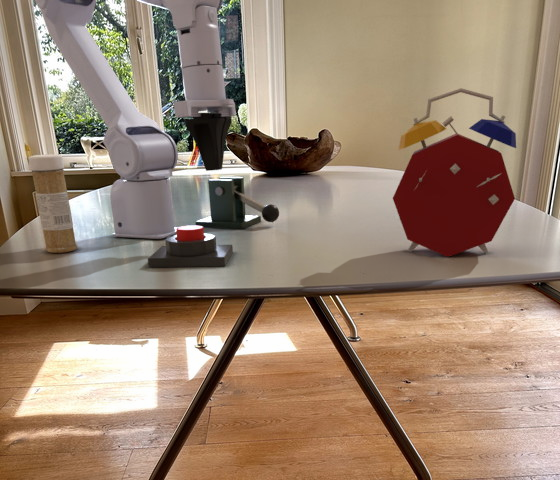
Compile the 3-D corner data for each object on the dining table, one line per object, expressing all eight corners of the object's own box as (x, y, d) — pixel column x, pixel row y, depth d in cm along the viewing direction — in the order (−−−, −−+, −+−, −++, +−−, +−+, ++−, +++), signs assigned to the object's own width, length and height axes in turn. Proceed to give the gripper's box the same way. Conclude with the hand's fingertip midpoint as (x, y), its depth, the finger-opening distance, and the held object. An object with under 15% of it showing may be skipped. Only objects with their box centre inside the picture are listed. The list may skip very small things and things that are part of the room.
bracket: (261, 221, 108) (259, 176, 105) (242, 229, 101) (239, 181, 98) (216, 219, 111) (213, 176, 108) (195, 227, 104) (191, 180, 101)
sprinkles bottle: (75, 246, 92) (59, 153, 86) (79, 251, 88) (64, 154, 83) (43, 249, 90) (26, 155, 85) (47, 255, 86) (29, 156, 81)
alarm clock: (503, 248, 81) (522, 86, 73) (509, 263, 74) (532, 84, 66) (393, 246, 85) (400, 91, 77) (388, 259, 77) (396, 89, 69)
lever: (278, 223, 104) (284, 208, 103) (271, 226, 102) (277, 210, 100) (221, 192, 106) (226, 176, 105) (213, 194, 104) (218, 178, 102)
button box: (148, 267, 77) (145, 244, 76) (162, 254, 85) (160, 232, 83) (225, 266, 77) (223, 243, 75) (232, 253, 84) (231, 231, 83)
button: (174, 243, 78) (173, 230, 77) (180, 238, 81) (179, 225, 81) (201, 243, 78) (200, 229, 77) (206, 238, 81) (205, 224, 80)
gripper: (201, 59, 75) (214, 172, 80) (249, 67, 88) (258, 164, 93) (154, 67, 78) (170, 175, 83) (207, 73, 90) (218, 167, 95)
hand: (214, 170), depth 88 cm, fingers closed
